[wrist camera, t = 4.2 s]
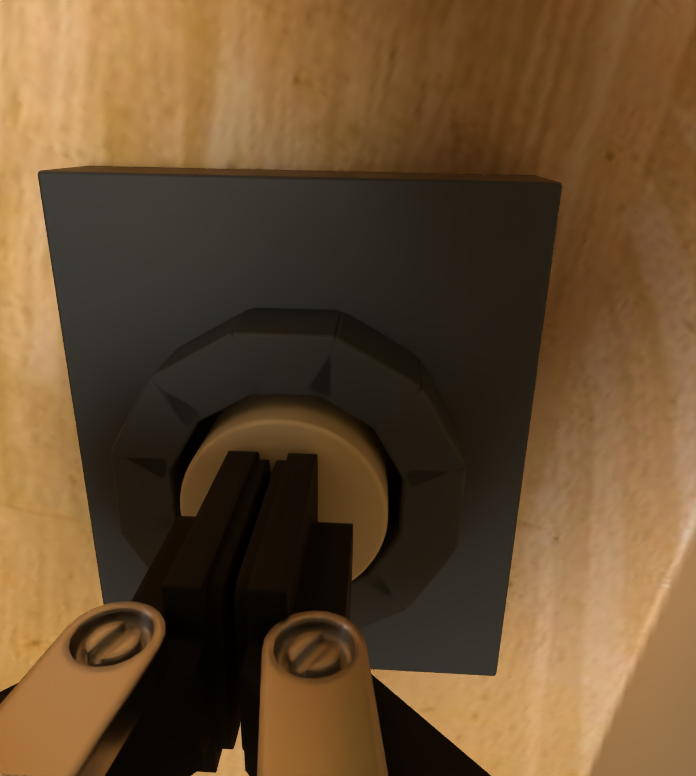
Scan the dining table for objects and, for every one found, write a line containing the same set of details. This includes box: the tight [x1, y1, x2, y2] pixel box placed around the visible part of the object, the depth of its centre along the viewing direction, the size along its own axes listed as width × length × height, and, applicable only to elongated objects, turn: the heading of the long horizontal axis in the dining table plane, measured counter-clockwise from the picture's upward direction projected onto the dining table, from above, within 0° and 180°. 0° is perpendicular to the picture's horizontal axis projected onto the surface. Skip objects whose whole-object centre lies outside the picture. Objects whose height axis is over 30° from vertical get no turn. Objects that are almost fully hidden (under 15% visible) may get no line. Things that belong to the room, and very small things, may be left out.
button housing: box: [38, 166, 562, 676], centre depth 14 cm, size 12×10×4 cm
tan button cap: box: [180, 394, 388, 580], centre depth 13 cm, size 4×4×2 cm
